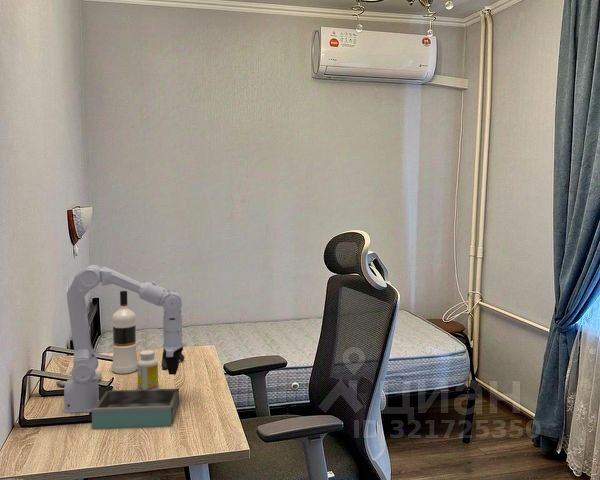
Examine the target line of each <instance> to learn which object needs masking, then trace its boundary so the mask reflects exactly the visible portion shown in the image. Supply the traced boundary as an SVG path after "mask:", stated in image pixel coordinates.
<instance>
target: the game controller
mask: <svg viewBox="0 0 600 480" xmlns="http://www.w3.org/2000/svg"><path fill="white" fill-rule="evenodd" d="M95 372H96V374H97V375H98V381H100V380H101V378H102V375H103V374H102V371H100V370H95ZM61 374H63V375H68V376H72V371H69V372H62V373H61ZM57 383H58V385H60V386H64V387H65V384H66V382H64V381H57Z"/></svg>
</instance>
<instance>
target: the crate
mask: <svg viewBox="0 0 600 480" xmlns="http://www.w3.org/2000/svg"><path fill="white" fill-rule="evenodd" d="M99 400H100V401H99V402H98V403H97V405H96V406H95V408H109V407H142V406H171V425H173V423H174V421H175V418H176V416H177V415H176V414H177V412H178V409H179V406H180V389H179V388H162V389H161V388H160V389H159V388H158V389H149V390H138V389H123V390H122V389H118V390H115V389H114V390H106V391H105V392H104V394H103V395H102V396H101V397H100V398H99Z"/></svg>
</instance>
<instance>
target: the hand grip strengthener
mask: <svg viewBox="0 0 600 480" xmlns="http://www.w3.org/2000/svg"><path fill="white" fill-rule="evenodd" d="M182 337H183V334H182ZM163 352H165V349H164V348H163V351H162V353H163ZM184 360H185V356H184V354H183V352H182V353H181V355H180V360H179V362H180V361H181V362H184ZM161 367H162V370H165V371H166V370H167V371H168V368H167V364H166V361H165V359H164V358H163V356H162V358H161Z"/></svg>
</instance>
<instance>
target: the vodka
mask: <svg viewBox="0 0 600 480" xmlns="http://www.w3.org/2000/svg"><path fill="white" fill-rule="evenodd" d="M119 302H120V303H119V304H120V306H119V309H117V310H116V311H114V313H113V314H112V317H111V319H112V324H111V326H112V338H113V339H112V341H113V342H112V350H113V353H112V354H113V355H112V365H111V370H112V372H113V373H114V374H118V375H126V374H131V373H132V374H133V373H134V372H137V362H138V357H137V345H138V344H137V337H136V336H137V334H136V333H137V331H136V329H137V328H136V326H137V320H136V319H137V315H136V313H135V312H134V311H133V310H131V309H129V306H128V291H127V290H120V291H119Z"/></svg>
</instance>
